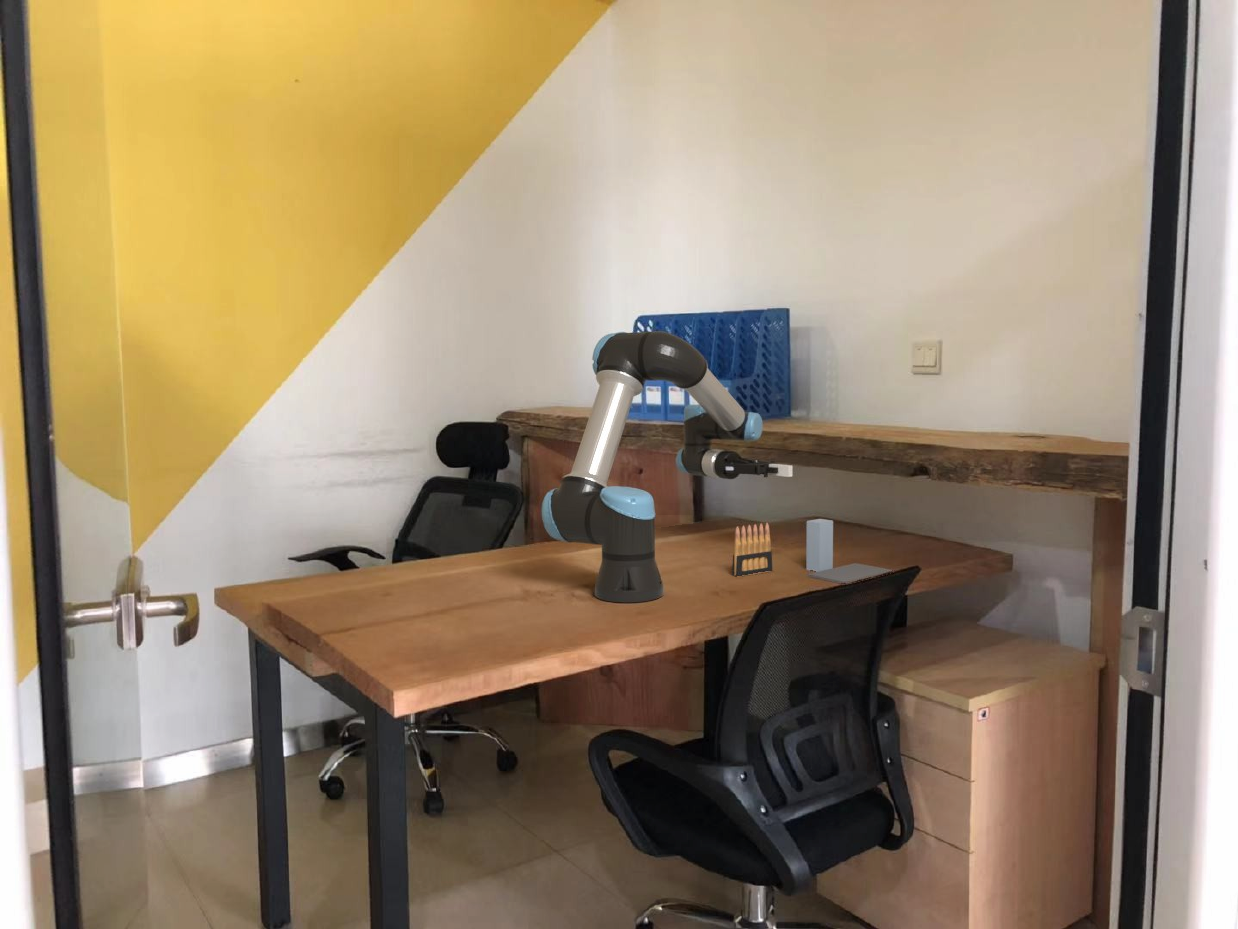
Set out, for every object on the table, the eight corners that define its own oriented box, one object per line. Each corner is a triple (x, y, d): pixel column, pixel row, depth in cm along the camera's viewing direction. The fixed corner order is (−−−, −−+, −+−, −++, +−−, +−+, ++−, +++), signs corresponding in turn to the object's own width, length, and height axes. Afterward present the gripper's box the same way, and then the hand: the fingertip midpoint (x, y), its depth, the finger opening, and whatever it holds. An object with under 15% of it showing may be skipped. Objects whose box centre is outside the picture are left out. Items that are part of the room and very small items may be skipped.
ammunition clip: (736, 577, 223) (736, 527, 222) (732, 575, 225) (731, 526, 223) (772, 571, 228) (772, 522, 227) (767, 570, 230) (767, 521, 229)
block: (819, 572, 226) (819, 523, 225) (806, 569, 230) (806, 521, 228) (832, 569, 230) (833, 520, 228) (819, 566, 233) (820, 518, 231)
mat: (845, 584, 214) (845, 582, 214) (807, 576, 222) (807, 574, 222) (893, 572, 225) (893, 570, 225) (855, 565, 233) (855, 563, 233)
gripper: (740, 475, 257) (807, 483, 239) (705, 480, 249) (772, 488, 231) (739, 448, 256) (807, 454, 238) (705, 452, 248) (772, 458, 230)
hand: (790, 471), depth 234 cm, fingers closed
